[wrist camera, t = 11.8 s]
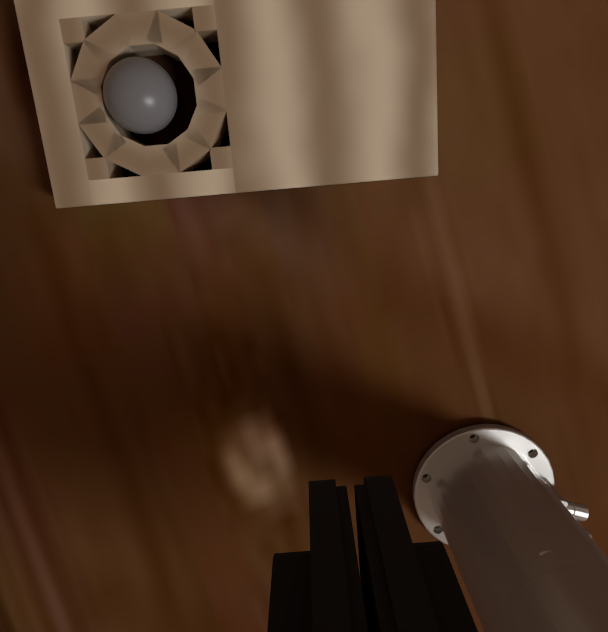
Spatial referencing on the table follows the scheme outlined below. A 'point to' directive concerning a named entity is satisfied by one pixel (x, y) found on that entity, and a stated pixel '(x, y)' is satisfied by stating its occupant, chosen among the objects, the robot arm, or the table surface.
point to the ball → (140, 95)
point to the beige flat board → (237, 94)
